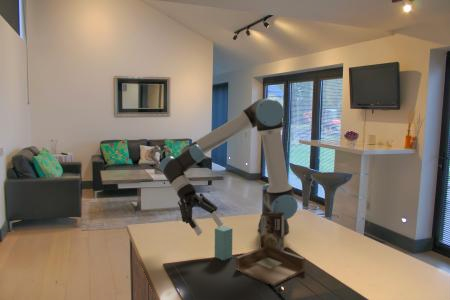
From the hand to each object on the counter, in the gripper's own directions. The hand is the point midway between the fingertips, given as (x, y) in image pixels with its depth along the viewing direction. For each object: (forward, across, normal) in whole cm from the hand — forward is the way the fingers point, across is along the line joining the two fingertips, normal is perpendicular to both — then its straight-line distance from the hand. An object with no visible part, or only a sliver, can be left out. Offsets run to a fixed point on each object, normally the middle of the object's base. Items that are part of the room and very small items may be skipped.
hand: (211, 229), depth 156 cm
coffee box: (+20, -19, +5) cm, 28 cm away
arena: (+26, -1, +12) cm, 29 cm away
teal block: (+12, -1, -3) cm, 12 cm away
